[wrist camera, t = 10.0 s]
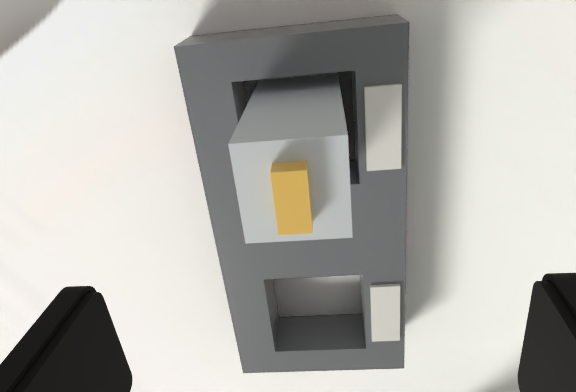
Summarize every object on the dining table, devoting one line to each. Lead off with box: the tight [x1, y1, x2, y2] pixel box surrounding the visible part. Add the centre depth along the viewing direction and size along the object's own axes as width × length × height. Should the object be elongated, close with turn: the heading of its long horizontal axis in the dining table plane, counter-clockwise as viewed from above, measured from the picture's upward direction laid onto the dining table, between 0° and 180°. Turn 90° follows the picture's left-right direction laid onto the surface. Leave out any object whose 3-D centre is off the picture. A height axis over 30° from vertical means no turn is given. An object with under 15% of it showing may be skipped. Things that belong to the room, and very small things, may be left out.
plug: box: [228, 73, 353, 244], centre depth 20 cm, size 4×4×10 cm
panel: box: [174, 14, 409, 373], centre depth 25 cm, size 10×20×3 cm, turn 6°
